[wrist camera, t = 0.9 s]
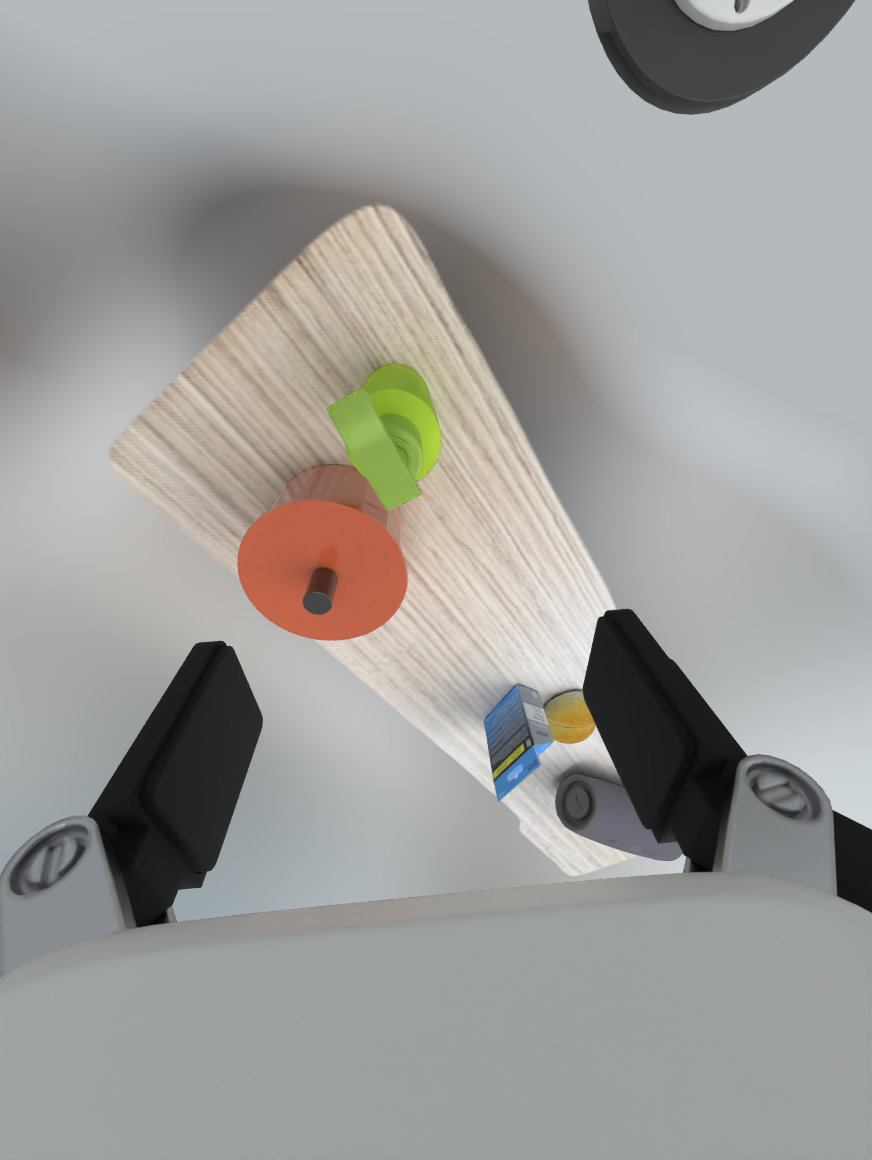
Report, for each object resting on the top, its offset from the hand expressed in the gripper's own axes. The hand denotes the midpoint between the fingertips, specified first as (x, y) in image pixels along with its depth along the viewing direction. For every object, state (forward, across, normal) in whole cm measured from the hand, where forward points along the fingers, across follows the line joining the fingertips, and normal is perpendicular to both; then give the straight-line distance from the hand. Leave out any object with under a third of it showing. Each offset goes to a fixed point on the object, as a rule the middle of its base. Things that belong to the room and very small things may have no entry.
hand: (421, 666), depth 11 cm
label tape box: (+31, -11, +41) cm, 52 cm away
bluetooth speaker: (+31, -30, +65) cm, 79 cm away
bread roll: (+31, -20, +43) cm, 57 cm away
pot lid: (+22, +8, +10) cm, 25 cm away
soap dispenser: (+31, +1, -2) cm, 31 cm away
